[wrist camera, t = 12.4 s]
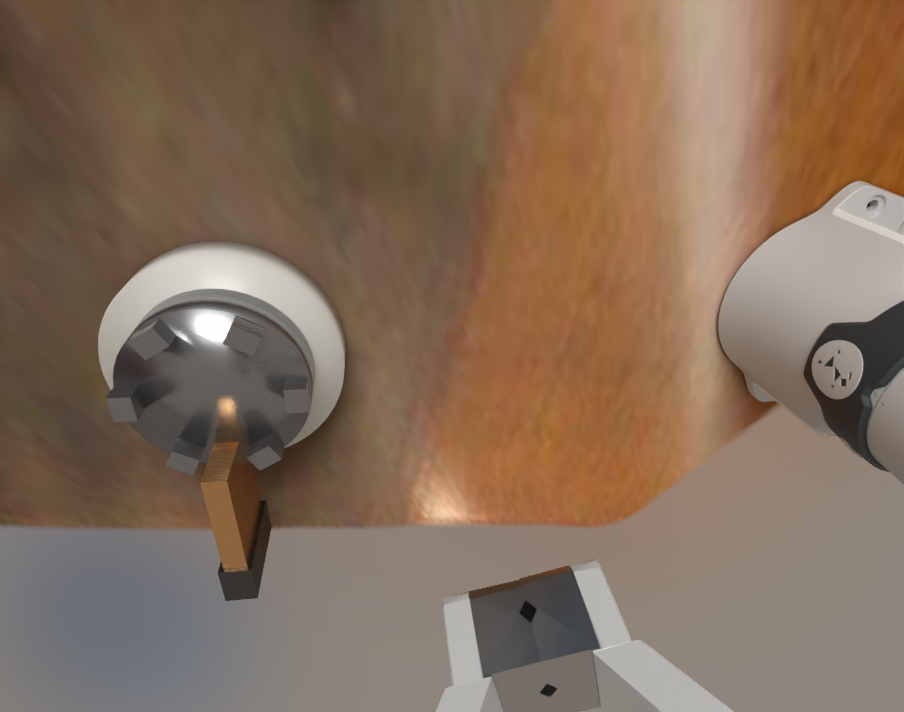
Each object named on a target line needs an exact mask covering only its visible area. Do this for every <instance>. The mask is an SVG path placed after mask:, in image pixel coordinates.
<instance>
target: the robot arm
mask: <svg viewBox="0 0 904 712" xmlns="http://www.w3.org/2000/svg"><path fill="white" fill-rule="evenodd" d="M870 201H871V202H870ZM869 202H870V204H869V206H868V207H867V205H868V203H869ZM718 331H719V338H720V342H721V345H722V347H723V350H724V352H725V353H726V355H727V356H728V358H729V359H730V360H731V361H732V362H733V363H734V364H735V365H736V366H737V367H738V368H739V369H740V370H741V371H742V372H743V374H744V376H745V381H746V385H747V388H748V391H749V393H750V394H751V395H752V396H753V397H755V398H756V399H757V400H759V401H761V402H770V401H776V402H778V403H779V404H780V405H782V406H783V407H784V408H785V409H787V410H788V411H789V412H790V413H792V414H793V415H794V416H796V417H797V418H798V419H800V420H801V421H802V422H804V423H805V424H806V425H808V426H809V427H810V428H811V429H813V430H814V431H815V432H817V433H818V434H821V435H823V436H830V435H835V436H838V437H839V438H840V439H841V441H843V442H844V443H845V445H846V446H847V447H848V448H849V449H850V450H852V451H853V452H854V453H856V454H857V455H858V456H860V457H863V458H864V459H865V460H866V461H868V462H869V463H870V464H872V465H873V466H874V467H876V468H878V469H880V470H883V471H887V472H890V473H892V474H893V475H894V476H895V477H896V478H897V479H898V480H900V481H901V482H902V483H903V484H904V197H902V196H900V195H897V194H894V193H892V192H889V191H887V190H884V189H882V188H879V187H877V186H874V185H872V184H869V183H866V182H863V181H857V182H853V183H851V184H849V185H848V186H846V187H845V188H843V189H842V190H841V191H840V192H838V193H837V194H836V195H835V196H834V197H833V198H832V199H830V200H829V201H828V202H827V203H826V204H825V205H824V206H823V207H822V208H821V209H820V210H818V211H817V212H815V213H813V214H812V215H810V216H808V217H806V218H804V219H802V220H799V221H797V222H795V223H793V224H791V225H789V226H788V227H786V228H784V229H782V230H781V231H779V232H778V233H776V234H775V235H773V236H772V237H771V238H769V239H768V240H767V241H765V242H764V243H763V244H762V245H761V246H760V247H759V248H758V249H756V250H755V251H754V252H753V253H752V255H751V256H750V257H749V258H748V259H747V260H746V261H745V262H744V264H743V265H742V266H741V268H740V269H739V270H738V272H737V273H736V275H735V276H734V278H733V280H732V281H731V283H730V285H729V287H728V289H727V291H726V293H725V296H724V298H723V301H722V305H721V308H720V313H719V321H718ZM443 615H444V623H445V631H446V639H447V647H448V655H449V663H450V671H451V680H452V686H449V687H446V688H444V690H443V693H442V695H441V697H440V700H439V702H438V704H437V707H436V709H435V712H578V711H583V710H587V709H592V708H597V707H601V709H602V710H603V711H604V712H733V711H732V710H731V709H729V708H728V707H727V706H725V705H724V704H723V703H722V702H720V701H719V700H718V699H717V698H715V697H714V696H713V695H711V694H710V693H709V692H708V691H706V690H705V689H704V688H702V687H701V686H700V685H699V684H697V683H696V682H695V681H693V680H692V679H691V678H690V677H688V676H687V675H686V674H684V673H683V672H682V671H680V670H679V669H678V668H677V667H675V666H674V665H673V664H672V663H670V662H669V661H668V660H666V659H665V658H664V657H663V656H661V655H660V654H659V653H657V652H656V651H655V650H654V649H652V648H651V647H650V646H648V645H647V644H646V643H645V642H643V641H642V640H641V639H637V640H632V639H631V637H630V635H629V632H628V630H627V628H626V625H625V623H624V621H623V618H622V616H621V614H620V611H619V609H618V606H617V604H616V602H615V599H614V597H613V595H612V592H611V590H610V588H609V585H608V583H607V580H606V578H605V576H604V574H603V571H602V569H601V566H600V565H599V563H598V562H597V561H596V560H591V561H587V562H583V563H580V564H577V565H573V566H570V567H569V566H565V567H561V568H558V569H554V570H550V571H547V572H543V573H539V574H535V575H532V576H528V577H524V578H520V579H519V580H516V581H512V582H507V583H503V584H499V585H495V586H490V587H486V588H482V589H478V590H473V591H468V592H464V593H461V594H456V595H452V596H448V597H444V598H443Z"/></svg>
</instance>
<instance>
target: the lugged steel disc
mask: <svg viewBox="0 0 904 712" xmlns="http://www.w3.org/2000/svg"><path fill="white" fill-rule="evenodd" d="M314 381H315V363H314V358H313V354H312V351H311V349H310V346H309V344H308V342H307V340H306V338H305V336H304V335H303V334H302V332H301V331H300V329H299V328H298V327H297V326H296V325H295V324H294V323H293V321H292V320H291V319H290V318H288V317H287V316H286V315H285V314H284V313H283V312H281V311H280V310H278V309H277V308H275V307H274V306H272V305H271V304H269V303H267V302H265V301H263V300H261V299H259V298H256V297H254V296H251V295H248V294H245V293H241V292H237V291H232V290H225V289H198V290H192V291H187V292H183V293H180V294H177V295H174V296H172V297H170V298H168V299H166V300H164V301H162V302H160V303H159V304H158V305H156V306H155V307H153V308H152V309H151V310H150V311H149V312H148V313H147V314H146V315H145V316H144V317H143V319H142V320H141V321H140V323H139V324H138V325H137V327H136V328H135V329H134V331H133V332H132V333H131V335H130V336H129V337H128V339H127V340H126V341H125V343H124V344H123V346H122V347H121V349H120V351H119V353H118V355H117V357H116V360H115V364H114V368H113V388H112V390H111V391H110V393H109V394H108V396H107V397H106V401H107V404H108V407H109V410H110V413H111V416H112V419H113V421H114V422H130V424H131V425H132V426H133V427H134V428H135V429H136V430H137V431H138V432H139V433H140V434H141V435H142V436H143V437H145V438H146V439H147V440H148V441H150V442H151V443H152V444H154V445H156V446H157V447H159V448H161V449H162V450H164V451H166V452H168V453H170V457H169V459H168V461H167V463H166V465H165V467H168V468H172V469H175V470H178V471H181V472H184V473H188V474H191V475H193V474H194V472H195V470H196V468H197V466H198V464H199V463H204V464H207V465H206V467H205V470H204V473H203V476H202V478H201V481H200V485H201V488H202V492H203V496H204V499H205V503H206V507H207V510H208V514H209V518H210V521H211V525H212V529H213V532H214V536H215V540H216V543H217V547H218V551H219V555H220V558H221V564H220V567H219V571H218V575H219V579H220V582H221V585H222V589H223V593H224V597H225V600H226V601H230V600H241V599H252V598H258V593H259V588H260V582H261V577H262V573H263V567H264V562H265V557H266V551H267V547H268V541H269V536H270V531H271V524H270V519H269V514H268V508H267V503H266V501H261V499H260V494H259V489H258V484H257V479H256V474H255V469H254V466H255V467H256V468H257V469H259V470H260V471H261V470H263V469H264V468H266V467H268V466H270V465H272V464H274V463H276V462H278V461H280V460H281V459H282V456H283V451H284V447H285V446H286V445H288V444H289V443H290V442H291V441H292V440H293V439H294V438H295V437H296V436H297V435H298V434H299V432H300V431H301V429H302V428H303V426H304V424H305V422H306V420H307V418H308V415H309V412H310V408H311V401H312V394H313V388H314Z"/></svg>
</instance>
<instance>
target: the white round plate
mask: <svg viewBox="0 0 904 712" xmlns="http://www.w3.org/2000/svg"><path fill="white" fill-rule="evenodd" d="M198 289H225V290H232V291H237V292H241V293H245V294H248V295H251V296H254V297H256V298H259V299H261V300H263V301H265V302H267V303H269V304H271V305H272V306H274V307H275V308H277V309H278V310H280V311H281V312H283V313H284V314H285V315H286V316H287V317H288V318H290V319H291V320H292V321H293V323H294V324H295V325H296V326H297V327H298V328H299V329H300V331H301V332H302V334H303V335H304V336H305V338H306V340H307V342H308V344H309V346H310V349H311V351H312V354H313V358H314V363H315V381H314V388H313V394H312V401H311V408H310V412H309V415H308V418H307V420H306V422H305V424H304V426H303V428H302V429H301V431H300V432H299V434H298V435H297V436H296V437H295V438H294V439H293V440H292V441H291V442H290V443H289V444H288V445H286V446H285V447H284V448H286V447H289V446H291V445H293V444H295V443H297V442H299V441H301V440H302V439H304V438H305V437H307V436H308V435H310V434H311V433H312V432H314V431H315V430H316V429H317V428H318V427H319V426H320V425H321V424H322V423H323V422H324V421H325V420H326V419H327V418H328V416H329V415H330V413H331V412H332V410H333V409H334V407H335V405H336V403H337V401H338V398H339V396H340V393H341V389H342V386H343V379H344V369H345V355H346V343H345V335H344V329H343V325H342V323H341V320H340V317H339V314H338V312H337V310H336V308H335V306H334V304H333V302H332V301H331V300H330V298H329V297H328V295H327V294H326V292H325V291H324V290H323V289H322V288H321V287H320V285H319V284H318V283H317V282H316V281H315V280H314V279H313V278H312V277H311V276H309V275H308V274H307V273H306V272H305V271H304V270H302V269H301V268H299V267H298V266H296V265H295V264H293V263H292V262H290V261H289V260H287V259H285V258H283V257H281V256H279V255H277V254H275V253H272V252H270V251H267V250H265V249H262V248H259V247H255V246H251V245H247V244H243V243H235V242H228V241H207V242H198V243H192V244H188V245H183V246H179V247H177V248H174V249H172V250H169V251H166V252H164V253H162V254H161V255H159V256H157V257H155V258H154V259H152V260H151V261H149V262H148V263H147V264H146V265H144V266H143V267H142V268H141V269H140V270H139V271H138V272H137V273H136V274H135V275H134V276H133V277H132V278H131V279H130V281H129V282H128V283H127V284H126V285H125V286H124V287H123V288H122V289H121V290H120V292H119V293H118V294H117V295H116V296H115V297H114V299H113V300H112V302H111V303H110V305H109V306H108V308H107V310H106V312H105V314H104V317H103V319H102V322H101V326H100V331H99V336H98V353H99V361H100V365H101V368H102V372H103V375H104V377H105V379H106V382H107V384H108V386H109V388H110V390H112V388H113V368H114V364H115V360H116V357H117V355H118V353H119V351H120V349H121V347H122V346H123V344H124V343H125V341H126V340H127V339H128V337H129V336H130V335H131V333H132V332H133V331H134V329H135V328H136V327H137V325H138V324H139V323H140V321H141V320H142V319H143V317H144V316H145V315H146V314H147V313H148V312H149V311H150V310H151V309H152V308H153V307H155V306H156V305H158V304H159V303H160V302H162V301H164V300H166V299H168V298H170V297H172V296H174V295H177V294H180V293H183V292H187V291H192V290H198Z"/></svg>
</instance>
